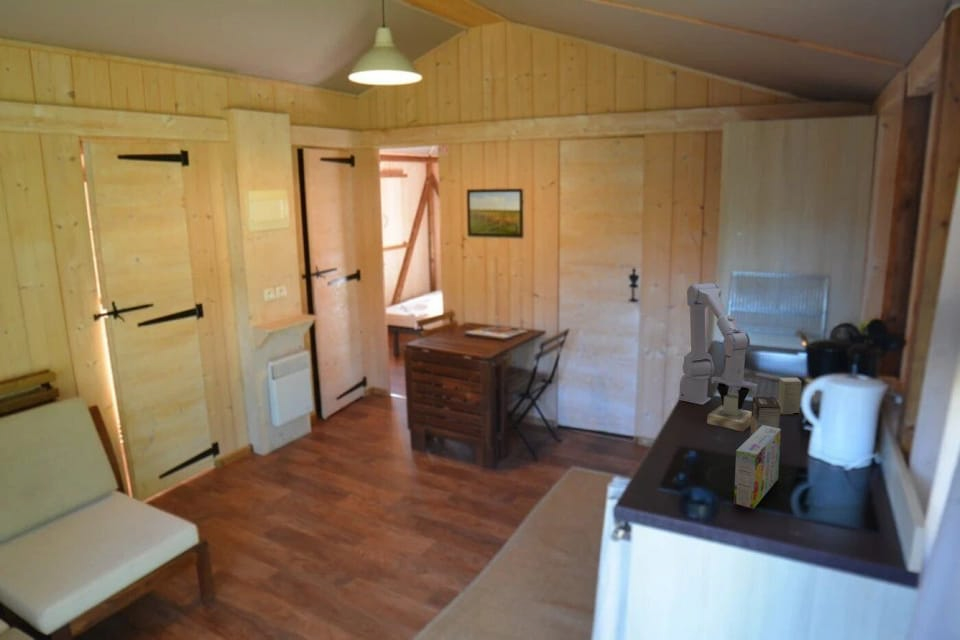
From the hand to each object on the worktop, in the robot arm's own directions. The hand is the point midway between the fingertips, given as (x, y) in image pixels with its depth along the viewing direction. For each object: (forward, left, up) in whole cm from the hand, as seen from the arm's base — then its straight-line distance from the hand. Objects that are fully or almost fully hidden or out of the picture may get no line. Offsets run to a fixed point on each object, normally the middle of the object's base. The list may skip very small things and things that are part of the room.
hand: (732, 406), depth 221 cm
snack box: (+23, -45, -6) cm, 51 cm away
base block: (0, 0, -5) cm, 5 cm away
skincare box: (+12, +21, -6) cm, 25 cm away
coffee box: (+16, -18, -6) cm, 25 cm away
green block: (0, 0, -2) cm, 2 cm away
